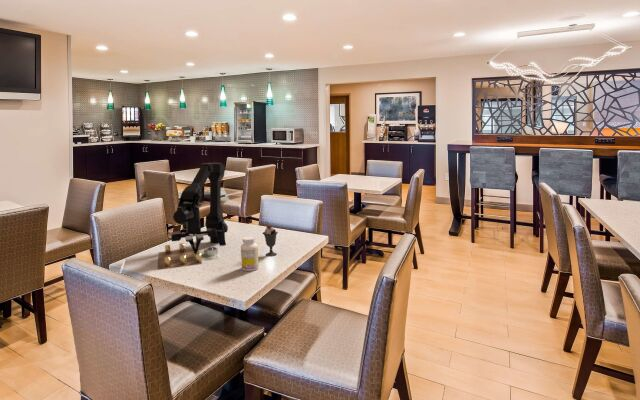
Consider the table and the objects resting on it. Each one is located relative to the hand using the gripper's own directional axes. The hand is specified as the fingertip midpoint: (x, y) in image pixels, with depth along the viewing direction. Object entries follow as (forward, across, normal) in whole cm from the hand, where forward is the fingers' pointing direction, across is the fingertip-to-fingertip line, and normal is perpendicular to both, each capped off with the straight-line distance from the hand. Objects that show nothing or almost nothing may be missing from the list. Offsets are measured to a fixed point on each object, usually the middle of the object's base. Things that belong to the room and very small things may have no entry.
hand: (195, 253), depth 175 cm
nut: (+1, -6, 0) cm, 7 cm away
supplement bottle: (+3, -19, +22) cm, 29 cm away
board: (+2, +4, 0) cm, 5 cm away
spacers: (+1, +5, 0) cm, 5 cm away
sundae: (+2, -32, +8) cm, 33 cm away
